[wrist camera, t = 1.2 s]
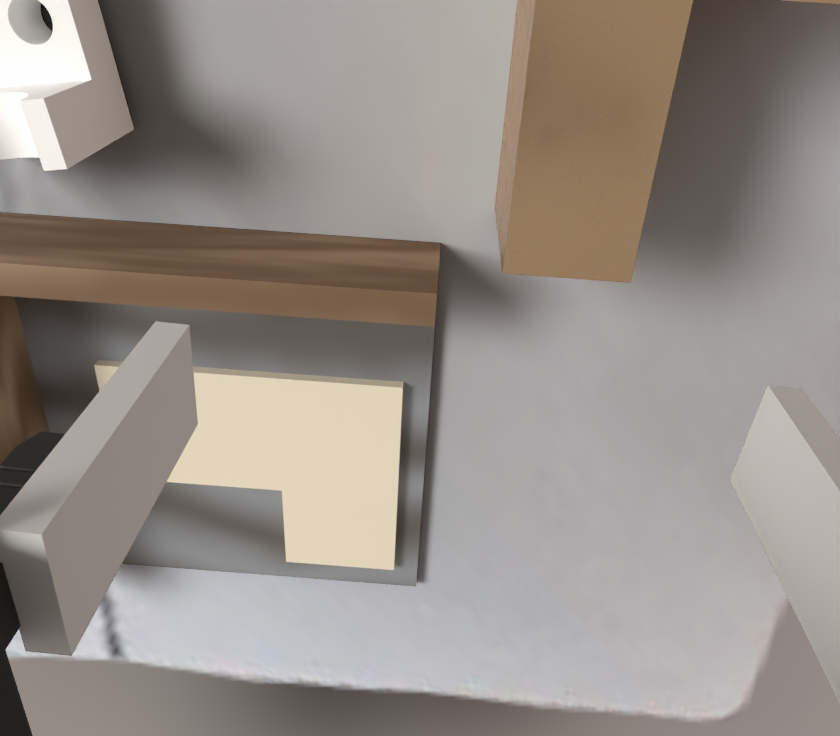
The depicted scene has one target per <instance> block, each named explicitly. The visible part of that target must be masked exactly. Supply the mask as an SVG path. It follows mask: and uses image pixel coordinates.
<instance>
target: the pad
mask: <svg viewBox="0 0 840 736" xmlns="http://www.w3.org/2000/svg"><path fill="white" fill-rule="evenodd" d="M122 363H123V361H110V360H98V361H97V362H96V364H95V365H94V367H95V372H96V377H97V382H98V386H99V391H100V390H101V389H102V388H103V386H104V385H105V384H106V383H107V381H108V380H109V379H110V378H111V376H112V375H113V374H114V373H115V371H116V370H117V369H118V368H119V366H120V365H121V364H122ZM193 373H194V385H195V396H196V408H197V419H198V425H197V427H196V428H195V430H194V432H193V434H192V436H191V438H190V439H189V441H188V443H187V445H186V447H185V449H184V450H183V452H182V454H181V456H180V458H179V460H178V461H177V463H176V465H175V467H174V469H173V471H172V473H171V474H170V476H169V478H168V480H167V482H174V483H187V484H200V485H213V486H226V487H240V488H253V489H266V490H279V491H282V502H283V519H284V535H285V552H286V562H295V563H308V564H321V565H334V566H346V567H359V568H372V569H385V570H394V565H395V547H396V527H397V506H398V486H399V465H400V445H401V425H402V404H403V384H404V382H398V381H384V380H371V379H357V378H343V377H329V376H316V375H302V374H288V373H274V372H261V371H247V370H233V369H220V368H206V367H193Z"/></svg>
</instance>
